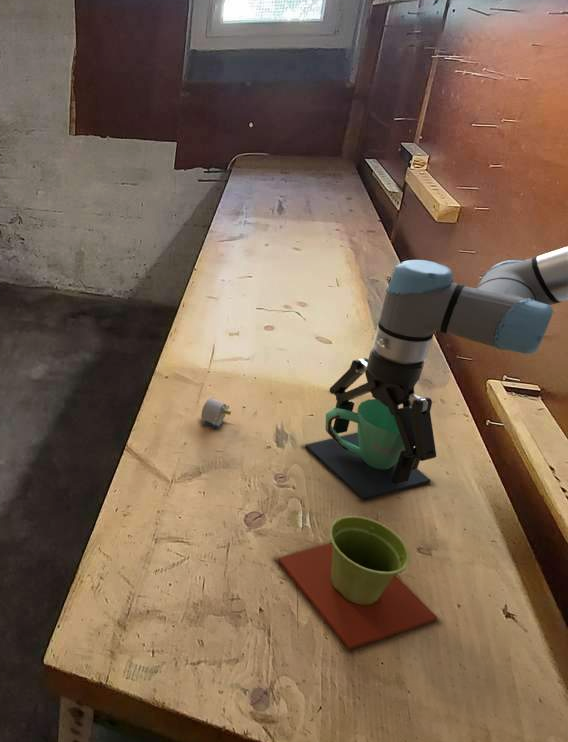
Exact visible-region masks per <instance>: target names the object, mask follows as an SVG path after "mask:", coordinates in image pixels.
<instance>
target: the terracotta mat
mask: <svg viewBox="0 0 568 742" xmlns="http://www.w3.org/2000/svg"><path fill="white" fill-rule="evenodd" d="M332 554H333V547H332V543H331V542H330V543H327V544H323V545H319V546H316V547H313V548H309V549H306V550H302V551H299V552H295V553H292V554H289V555H288V554H287V555H285V556H281V557H278V559H277V561H278V563H279V564H280V565H281V566H282V568H283V569H284V571H286V573H287V574H288V575H289V576H290V578H291V579H292V580H293V581H294V583H295V584H296V585H297V587H298V588H299V589H300V590H301V592H302V593H303V594H304V595H305V596H306V598H307V599H308V600H309V601H310V603H311V605H313V606H314V608H315V609H316V610H317V612H318V613H319V614H320V615H321V616H322V618H323V619H324V620H325V622H326V623H327V624H328V626H329V627H330V628H331V629H332V630H333V632H334V633H335V634H336V636H337V637H338V638H339V639H340V641H341V642H342V643H343V644H344V645H345V647H346V648H347V649H348V650H351V649H355V648H357V647H361V646H364V645H367V644H369V643H372V642H375V641H379V640H381V639H385V638H387V637H390V636H393V635H396V634H400V633H403V632H405V631H408V630H411V629H414V628H417V627H420V626H423V625H426V624H429V623H432V622H435V621H437V619H438V616H436V614H435V613H434V612H432V610H431V609H430V608H428V607H427V605H426V604H424V602H423V601H421V599H420V598H419V597H418V596H417V595H416V594H415V593H414V592H413V591H412V590H411V589H410V588H409V587H408V586H407V585H406V584H405V583H404V582H403V581H402V580H401V579H400V578H399V577H398V576H397V575H396V576H394V577H393V579H392V580H391V581H390V583H389V584H388V586H387V587H386V589H385V590H384V592H383V593H382V595H381V596H380V598H379V599H378V600H377V601H376V602H374V603H372V604H369V605H361V604H357V603H354V602H351V601H349V600H348V599H346V598H344V597H343V595H342V594H341V593H340V592H339V591H338V590H337V589H335V588H334V586H333V584H332V581H331V568H332Z"/></svg>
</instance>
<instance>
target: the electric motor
mask: <svg viewBox="0 0 568 742" xmlns="http://www.w3.org/2000/svg"><path fill="white" fill-rule="evenodd" d="M229 409H230V405H229V404H228V405H227V403H224V402H221V401H219V400H217V399H214V398H212V397H210V398H208V399H207V400H206V401H205V403H204V404H203V406H202V410H201V415H200V416H201V419H202V420H203V421H204V424H206V425H209V426H211V427H214V428H215V429H219V428H220V426H222V424H223V423H224V419H225V416H226V415H228V416H230V415H231V413H232V411H231V410H229Z"/></svg>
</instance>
